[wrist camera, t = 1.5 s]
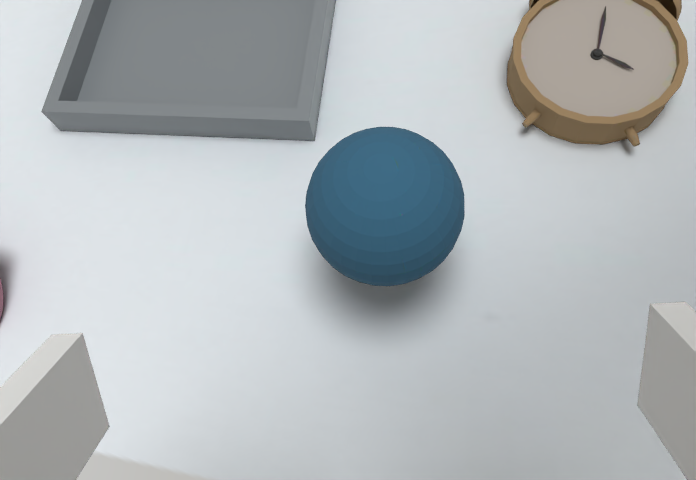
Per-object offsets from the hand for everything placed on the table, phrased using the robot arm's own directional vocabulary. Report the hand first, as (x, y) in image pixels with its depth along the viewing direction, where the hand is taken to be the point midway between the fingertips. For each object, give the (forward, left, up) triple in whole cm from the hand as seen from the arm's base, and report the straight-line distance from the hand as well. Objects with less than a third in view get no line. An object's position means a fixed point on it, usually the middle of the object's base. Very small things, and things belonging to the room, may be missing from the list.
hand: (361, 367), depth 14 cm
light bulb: (+10, -5, -22) cm, 25 cm away
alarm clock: (+17, -25, -22) cm, 37 cm away
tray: (+33, 0, -22) cm, 39 cm away
